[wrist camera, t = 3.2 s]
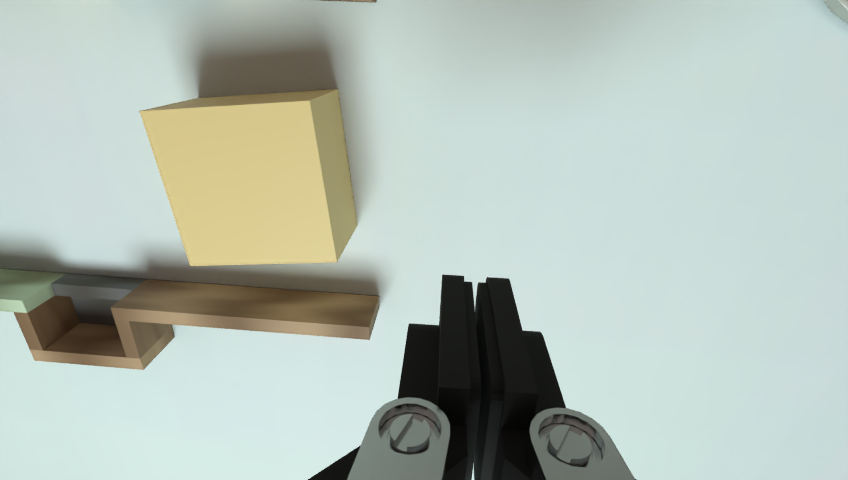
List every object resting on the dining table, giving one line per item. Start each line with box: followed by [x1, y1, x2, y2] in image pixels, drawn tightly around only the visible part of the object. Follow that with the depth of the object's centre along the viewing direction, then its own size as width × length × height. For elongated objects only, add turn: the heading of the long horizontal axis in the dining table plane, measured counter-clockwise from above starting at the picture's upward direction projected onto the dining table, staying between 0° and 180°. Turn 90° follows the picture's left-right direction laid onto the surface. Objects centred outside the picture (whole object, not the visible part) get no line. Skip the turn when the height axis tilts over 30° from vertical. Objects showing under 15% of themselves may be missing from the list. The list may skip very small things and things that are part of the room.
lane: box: [0, 0, 379, 370], centre depth 21 cm, size 26×23×4 cm
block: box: [140, 89, 357, 266], centre depth 21 cm, size 7×7×4 cm
